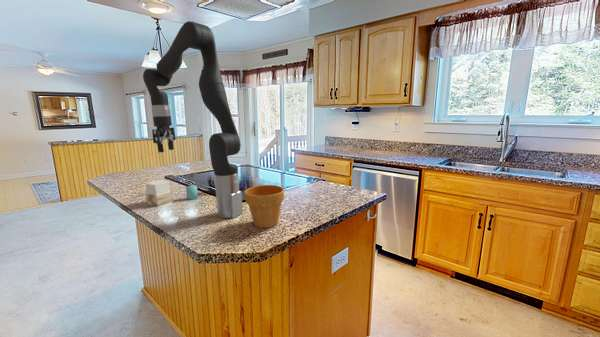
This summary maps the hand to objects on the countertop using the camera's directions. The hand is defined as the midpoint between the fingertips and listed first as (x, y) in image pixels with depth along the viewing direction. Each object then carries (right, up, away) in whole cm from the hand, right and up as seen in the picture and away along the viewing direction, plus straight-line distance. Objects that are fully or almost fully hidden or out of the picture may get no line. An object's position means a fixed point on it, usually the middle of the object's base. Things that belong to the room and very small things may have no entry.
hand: (166, 151), depth 131 cm
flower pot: (+49, -29, -25) cm, 62 cm away
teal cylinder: (+10, -23, +6) cm, 26 cm away
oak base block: (-3, -24, +1) cm, 25 cm away
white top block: (-4, -19, 0) cm, 20 cm away
